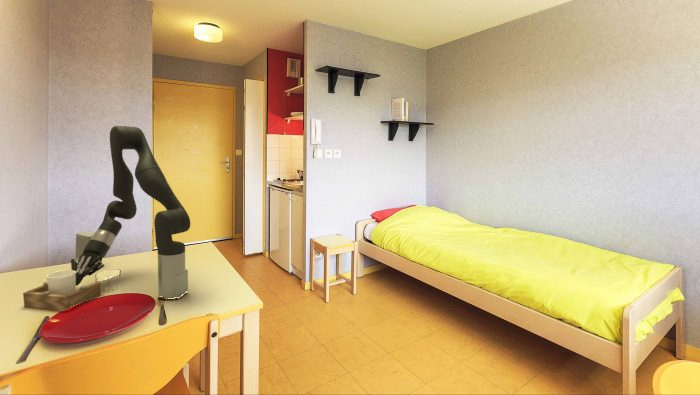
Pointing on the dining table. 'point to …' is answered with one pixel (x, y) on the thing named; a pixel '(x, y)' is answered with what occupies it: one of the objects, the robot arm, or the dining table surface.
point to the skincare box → (82, 242)
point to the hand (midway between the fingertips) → (73, 284)
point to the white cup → (62, 282)
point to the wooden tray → (59, 297)
